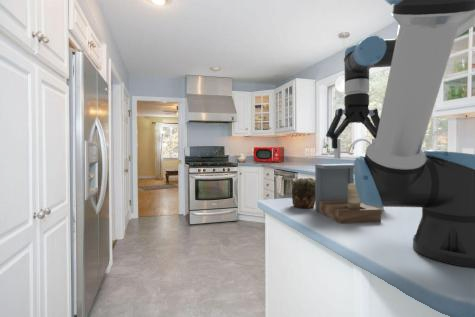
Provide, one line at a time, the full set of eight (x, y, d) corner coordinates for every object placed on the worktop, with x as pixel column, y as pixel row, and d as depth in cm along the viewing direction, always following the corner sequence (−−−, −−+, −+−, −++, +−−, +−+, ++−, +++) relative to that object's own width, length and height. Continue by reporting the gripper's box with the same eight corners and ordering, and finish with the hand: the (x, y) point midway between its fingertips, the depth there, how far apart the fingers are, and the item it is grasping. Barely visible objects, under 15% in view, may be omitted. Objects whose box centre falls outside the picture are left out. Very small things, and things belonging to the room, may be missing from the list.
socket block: (380, 221, 88) (380, 209, 88) (340, 223, 87) (340, 211, 86) (353, 209, 105) (353, 199, 105) (318, 211, 103) (318, 200, 103)
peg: (362, 220, 90) (362, 184, 89) (351, 221, 89) (351, 185, 89) (356, 217, 94) (356, 183, 93) (345, 217, 93) (345, 183, 93)
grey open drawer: (363, 213, 99) (363, 164, 98) (324, 215, 97) (324, 165, 97) (351, 208, 107) (351, 163, 106) (315, 210, 105) (315, 164, 105)
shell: (322, 209, 107) (322, 179, 106) (294, 209, 107) (294, 179, 106) (314, 203, 117) (314, 176, 117) (289, 203, 118) (289, 176, 117)
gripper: (383, 97, 95) (383, 157, 95) (316, 96, 92) (316, 158, 92) (399, 92, 87) (398, 158, 88) (325, 91, 84) (326, 159, 85)
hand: (356, 158), depth 90 cm, fingers open, 13 cm apart
